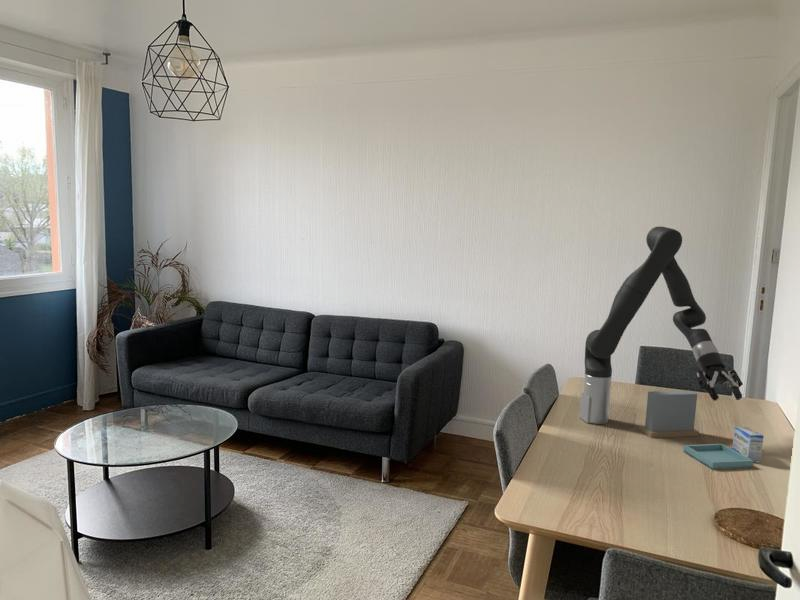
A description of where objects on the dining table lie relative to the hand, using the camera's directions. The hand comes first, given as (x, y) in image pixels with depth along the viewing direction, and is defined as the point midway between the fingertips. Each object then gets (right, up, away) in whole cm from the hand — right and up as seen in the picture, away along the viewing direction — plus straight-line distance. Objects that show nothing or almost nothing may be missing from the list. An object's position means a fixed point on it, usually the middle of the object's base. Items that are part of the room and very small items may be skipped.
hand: (728, 399), depth 194 cm
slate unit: (-14, -14, +11) cm, 23 cm away
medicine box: (+1, -17, -8) cm, 19 cm away
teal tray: (-9, -17, -11) cm, 22 cm away
